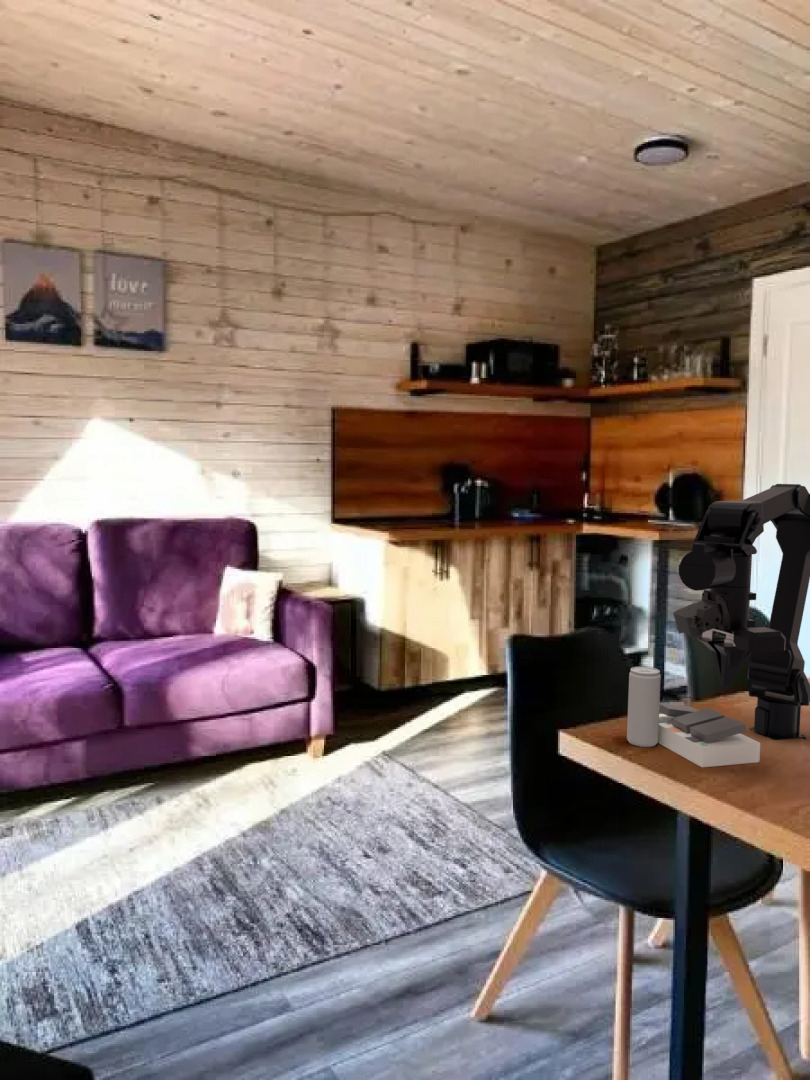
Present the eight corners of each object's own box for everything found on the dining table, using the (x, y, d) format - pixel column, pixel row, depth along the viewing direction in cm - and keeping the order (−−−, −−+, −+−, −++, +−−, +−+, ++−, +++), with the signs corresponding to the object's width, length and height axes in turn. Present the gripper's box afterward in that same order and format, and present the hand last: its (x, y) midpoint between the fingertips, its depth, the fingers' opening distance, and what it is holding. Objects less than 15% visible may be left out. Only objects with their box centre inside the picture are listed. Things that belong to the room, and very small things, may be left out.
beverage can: (659, 749, 134) (662, 674, 133) (627, 747, 135) (630, 672, 134) (656, 740, 139) (659, 667, 138) (625, 737, 140) (628, 665, 139)
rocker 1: (690, 713, 143) (691, 706, 143) (704, 720, 140) (706, 713, 140) (654, 709, 141) (655, 702, 141) (667, 716, 138) (669, 708, 138)
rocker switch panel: (692, 728, 146) (693, 710, 145) (759, 762, 129) (760, 741, 129) (640, 732, 143) (641, 714, 143) (701, 767, 127) (702, 746, 126)
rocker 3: (729, 723, 134) (728, 716, 134) (746, 731, 130) (745, 724, 130) (690, 734, 132) (689, 727, 132) (706, 742, 128) (705, 735, 128)
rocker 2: (709, 715, 139) (709, 707, 138) (725, 722, 135) (724, 714, 135) (672, 725, 137) (671, 718, 137) (686, 732, 133) (685, 725, 133)
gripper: (649, 578, 136) (645, 674, 137) (722, 595, 118) (717, 706, 119) (710, 576, 139) (705, 671, 140) (790, 593, 121) (784, 701, 123)
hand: (725, 686), depth 131 cm, fingers closed
